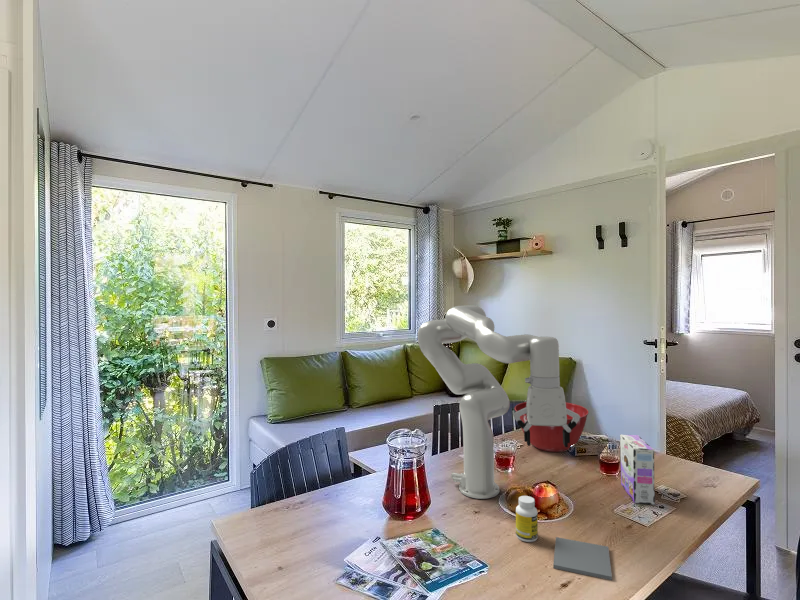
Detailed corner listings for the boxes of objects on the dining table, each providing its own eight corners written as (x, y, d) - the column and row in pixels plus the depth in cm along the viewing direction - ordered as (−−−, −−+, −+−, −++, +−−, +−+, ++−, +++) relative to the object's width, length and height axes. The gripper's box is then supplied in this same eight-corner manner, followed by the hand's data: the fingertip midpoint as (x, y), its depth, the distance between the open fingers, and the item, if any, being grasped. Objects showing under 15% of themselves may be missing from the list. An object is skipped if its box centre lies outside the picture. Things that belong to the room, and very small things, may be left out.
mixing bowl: (518, 457, 165) (518, 417, 165) (512, 433, 193) (511, 399, 193) (597, 461, 160) (597, 419, 160) (579, 436, 188) (578, 400, 188)
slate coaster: (553, 568, 99) (553, 564, 99) (555, 540, 110) (555, 536, 110) (611, 580, 94) (611, 576, 94) (608, 549, 105) (608, 546, 105)
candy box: (655, 505, 127) (655, 449, 126) (633, 504, 128) (633, 448, 128) (639, 485, 140) (639, 434, 140) (619, 483, 141) (619, 433, 141)
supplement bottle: (534, 545, 108) (534, 506, 108) (513, 539, 111) (512, 500, 111) (540, 534, 113) (539, 497, 112) (519, 529, 115) (518, 492, 115)
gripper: (513, 384, 116) (515, 448, 116) (581, 385, 113) (583, 451, 113) (511, 379, 124) (513, 439, 124) (575, 379, 120) (577, 441, 120)
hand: (546, 445), depth 118 cm, fingers open, 9 cm apart
